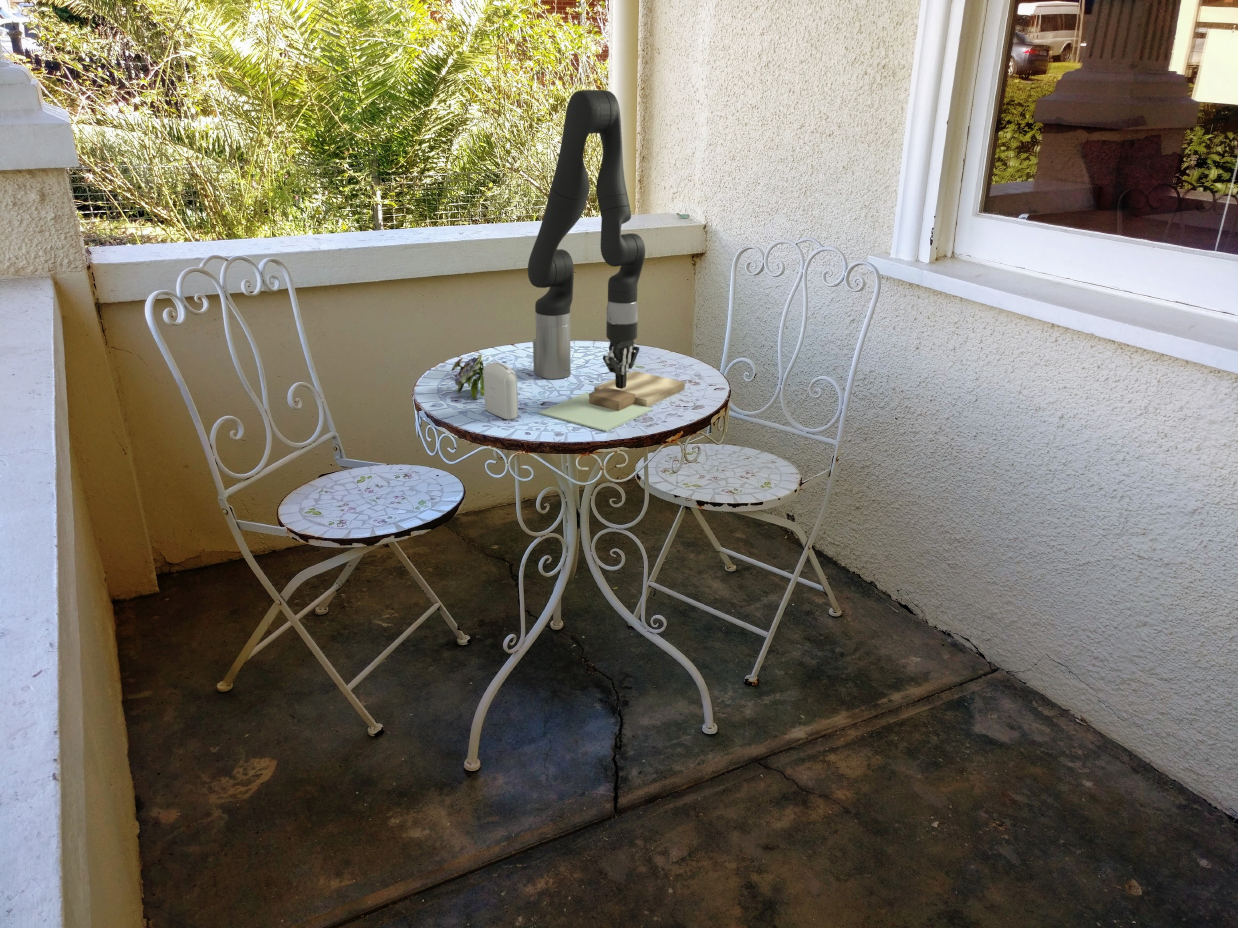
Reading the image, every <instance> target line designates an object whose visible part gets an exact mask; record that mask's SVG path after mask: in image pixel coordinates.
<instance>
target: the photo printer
mask: <svg viewBox="0 0 1238 928" xmlns="http://www.w3.org/2000/svg"><path fill="white" fill-rule="evenodd" d="M483 379H484V408H485V410H486V411H488V412H489V413H491V414H493V415H495V416H497V417H499V418H502V419H504V420H514V419H516V418H517V417H518V416H519V400H518V399H519V397H518V377H517V374H516V373H515V371H514V370H513V369H512V368H510V367H509V366H507V364H504V363H502V362H497V361H494V362H489V363H487V364H485V365H484V370H483Z"/></svg>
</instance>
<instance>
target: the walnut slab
mask: <svg viewBox="0 0 1238 928" xmlns="http://www.w3.org/2000/svg"><path fill="white" fill-rule="evenodd" d="M589 393H590V394H589V404H593V405H597V406H601V407H605V408H609V409H612V410H616V411H620V410H622V409H625V408H627V407H629V406H631V405H633V404H635V394H633V393H629V392H625V391H621V390H617V389H613V388H608V387H604V388H602V389H600V390H597V391H595V392H594V391H592V392H589Z"/></svg>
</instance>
